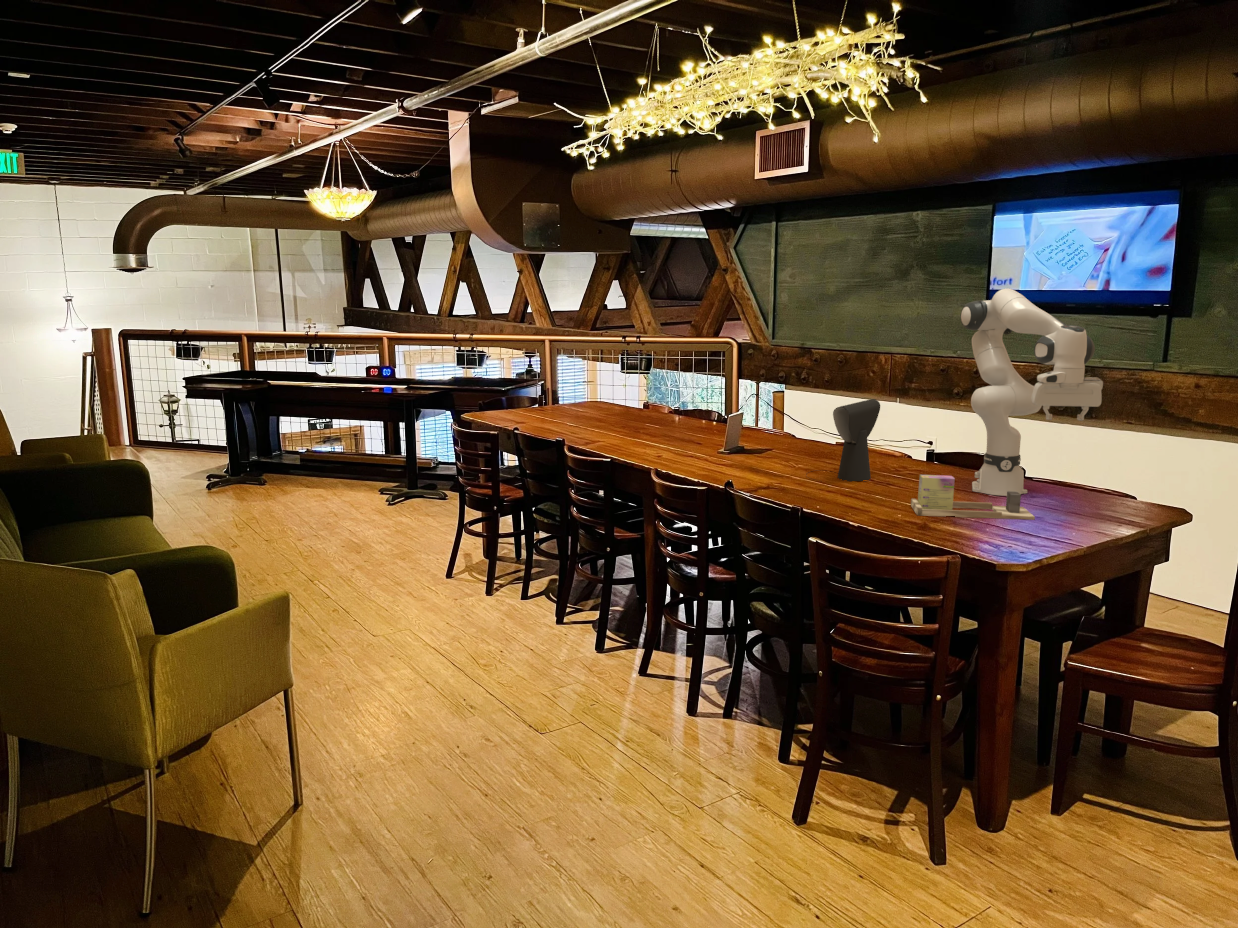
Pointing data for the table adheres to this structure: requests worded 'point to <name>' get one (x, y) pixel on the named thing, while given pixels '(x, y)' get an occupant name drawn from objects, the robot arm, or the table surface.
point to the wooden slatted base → (1002, 512)
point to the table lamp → (855, 438)
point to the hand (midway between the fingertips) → (1064, 420)
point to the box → (936, 492)
